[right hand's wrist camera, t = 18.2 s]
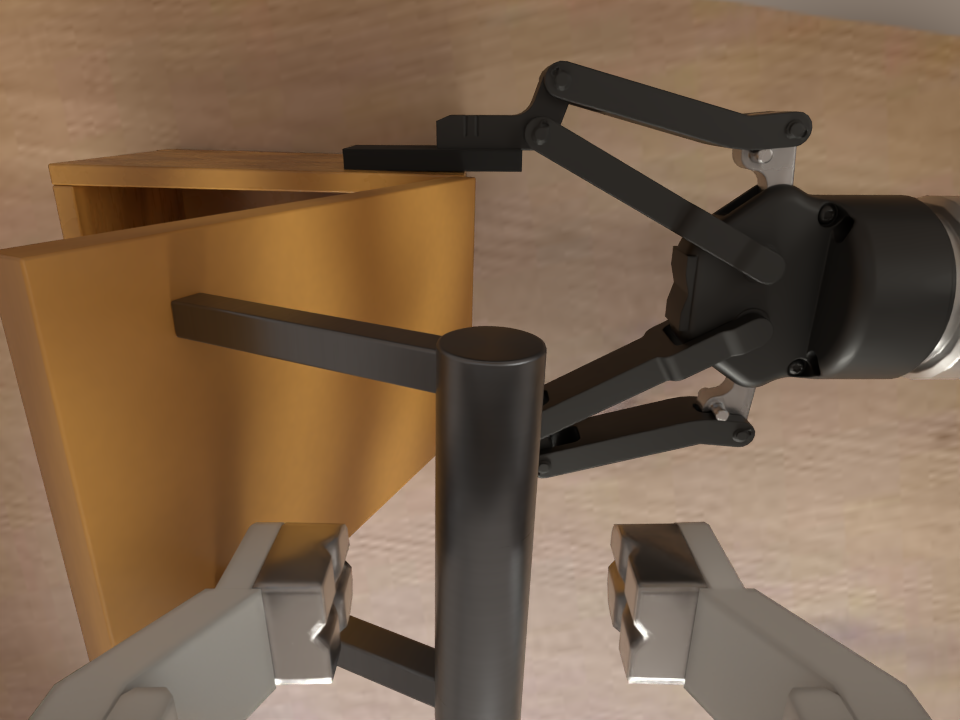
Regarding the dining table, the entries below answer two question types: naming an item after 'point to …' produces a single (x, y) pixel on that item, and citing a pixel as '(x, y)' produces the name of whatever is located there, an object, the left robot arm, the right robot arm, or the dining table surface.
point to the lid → (286, 415)
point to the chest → (201, 185)
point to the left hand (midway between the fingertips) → (359, 287)
